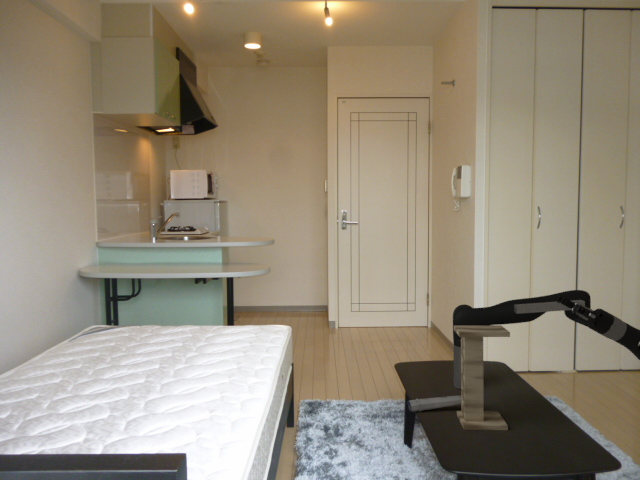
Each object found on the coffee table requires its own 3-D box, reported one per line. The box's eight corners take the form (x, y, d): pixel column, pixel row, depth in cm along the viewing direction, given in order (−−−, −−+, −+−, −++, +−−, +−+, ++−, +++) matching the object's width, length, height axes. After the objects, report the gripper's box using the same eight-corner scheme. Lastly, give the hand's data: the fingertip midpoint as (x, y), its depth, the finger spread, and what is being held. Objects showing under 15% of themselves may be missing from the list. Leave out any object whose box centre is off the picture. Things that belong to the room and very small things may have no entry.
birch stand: (453, 414, 175) (453, 324, 173) (500, 415, 173) (500, 324, 172) (460, 429, 163) (460, 333, 161) (511, 430, 161) (510, 333, 160)
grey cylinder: (406, 398, 182) (474, 387, 181) (409, 415, 182) (477, 405, 182) (409, 403, 176) (478, 392, 176) (411, 421, 177) (481, 410, 176)
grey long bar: (514, 312, 169) (513, 304, 168) (581, 307, 167) (581, 299, 167) (516, 313, 166) (516, 306, 166) (585, 309, 164) (584, 301, 164)
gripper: (602, 310, 172) (557, 286, 172) (623, 319, 158) (575, 292, 159) (591, 329, 172) (546, 305, 173) (611, 339, 158) (562, 313, 159)
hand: (560, 299), depth 166 cm, fingers closed on grey long bar, 2 cm apart
